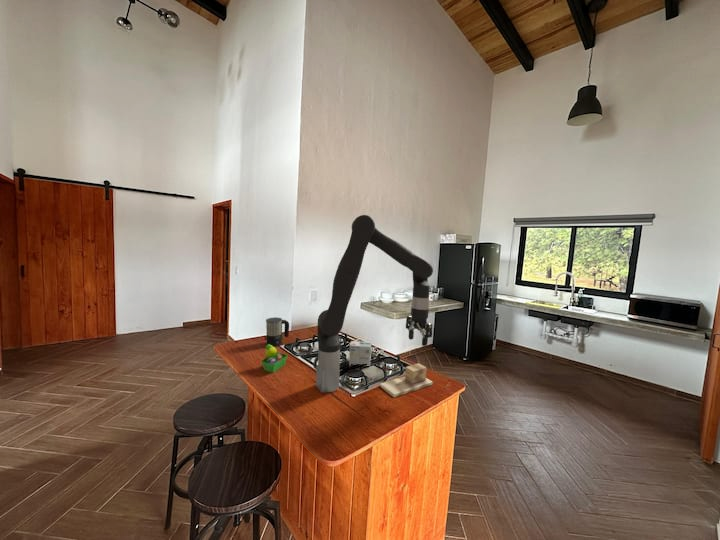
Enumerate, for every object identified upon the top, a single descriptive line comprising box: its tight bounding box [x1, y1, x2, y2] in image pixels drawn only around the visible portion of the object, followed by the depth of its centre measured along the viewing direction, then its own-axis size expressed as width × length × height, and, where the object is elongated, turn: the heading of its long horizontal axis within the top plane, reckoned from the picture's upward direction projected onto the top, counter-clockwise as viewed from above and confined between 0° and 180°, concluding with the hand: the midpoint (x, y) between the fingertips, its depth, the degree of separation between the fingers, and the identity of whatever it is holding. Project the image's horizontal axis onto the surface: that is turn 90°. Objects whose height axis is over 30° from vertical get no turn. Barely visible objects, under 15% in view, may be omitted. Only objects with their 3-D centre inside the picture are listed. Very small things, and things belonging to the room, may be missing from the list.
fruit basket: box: [260, 344, 288, 373], centre depth 140 cm, size 11×9×11 cm
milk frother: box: [265, 316, 290, 348], centre depth 173 cm, size 14×16×15 cm
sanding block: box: [404, 362, 427, 385], centre depth 130 cm, size 8×5×6 cm, turn 122°
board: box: [379, 375, 434, 398], centre depth 128 cm, size 22×10×1 cm, turn 122°
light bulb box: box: [348, 340, 372, 367], centre depth 147 cm, size 11×7×11 cm, turn 84°
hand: (417, 342), depth 128 cm, fingers open, 8 cm apart
